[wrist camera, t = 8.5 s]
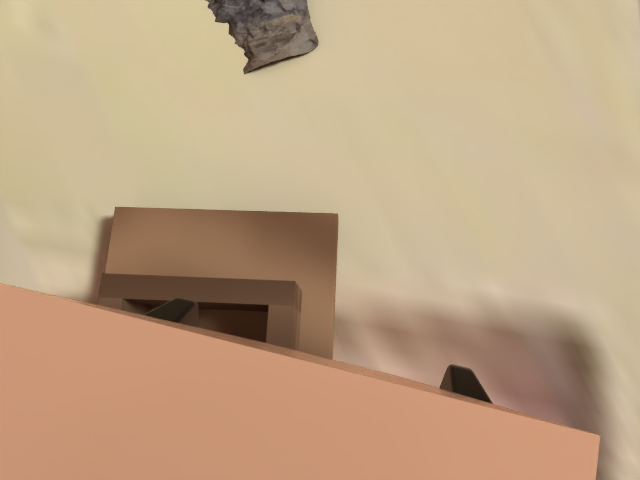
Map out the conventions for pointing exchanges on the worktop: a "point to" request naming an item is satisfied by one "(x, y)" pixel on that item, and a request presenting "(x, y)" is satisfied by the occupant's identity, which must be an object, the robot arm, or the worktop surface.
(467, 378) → the robot arm
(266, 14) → the driftwood
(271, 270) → the square socket base
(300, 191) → the worktop surface
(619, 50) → the worktop surface
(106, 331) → the clay rectangular block
